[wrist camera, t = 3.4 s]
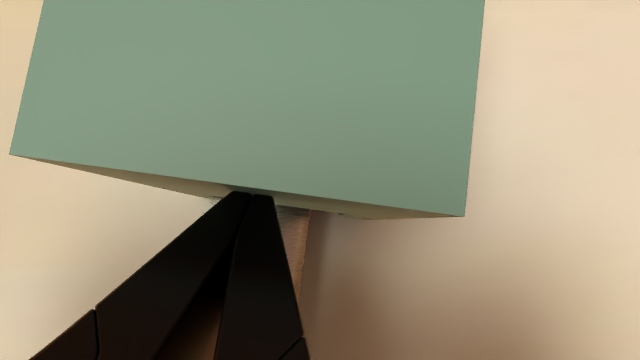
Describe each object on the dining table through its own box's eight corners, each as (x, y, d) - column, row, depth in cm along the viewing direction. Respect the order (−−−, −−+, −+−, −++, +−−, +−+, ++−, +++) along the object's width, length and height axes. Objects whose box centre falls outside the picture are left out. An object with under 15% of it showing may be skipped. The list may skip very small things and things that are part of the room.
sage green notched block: (366, 219, 16) (464, 216, 6) (199, 196, 16) (9, 154, 6) (388, 37, 17) (506, -235, 7) (229, 14, 17) (110, -296, 7)
